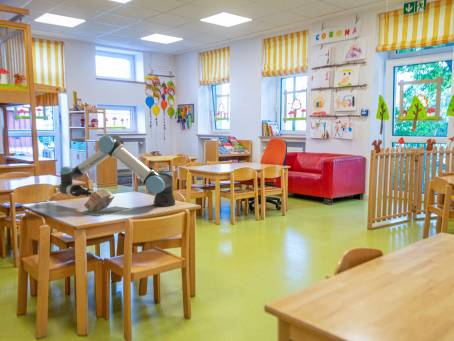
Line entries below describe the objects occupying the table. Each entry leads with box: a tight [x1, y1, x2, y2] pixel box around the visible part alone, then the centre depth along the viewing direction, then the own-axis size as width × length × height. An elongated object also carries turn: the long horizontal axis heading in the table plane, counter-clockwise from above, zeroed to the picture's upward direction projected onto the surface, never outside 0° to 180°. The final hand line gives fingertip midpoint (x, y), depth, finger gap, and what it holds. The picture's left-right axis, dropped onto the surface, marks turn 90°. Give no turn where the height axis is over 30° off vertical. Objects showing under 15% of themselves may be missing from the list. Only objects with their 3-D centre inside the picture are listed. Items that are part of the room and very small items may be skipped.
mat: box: [82, 205, 130, 217], centre depth 266 cm, size 13×28×1 cm, turn 150°
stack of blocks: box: [83, 188, 116, 212], centre depth 270 cm, size 21×6×12 cm
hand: (95, 193), depth 268 cm, fingers closed
